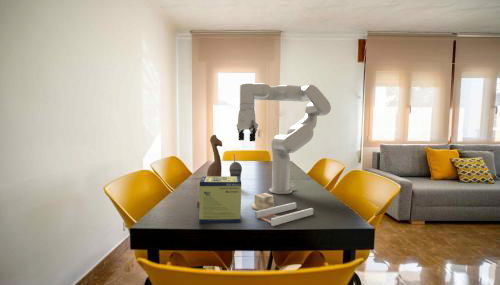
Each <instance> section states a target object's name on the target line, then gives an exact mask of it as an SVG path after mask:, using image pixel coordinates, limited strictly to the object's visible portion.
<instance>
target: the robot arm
mask: <svg viewBox="0 0 500 285" xmlns="http://www.w3.org/2000/svg"><path fill="white" fill-rule="evenodd" d="M255 100H259V101H277V102H278V101H281V102H282V101H283V102H299V103H300V102H301V103H302V102H308V103H307V104H306V106H305V107H304V108H305V109H304V116H303V118H301V119H300V120H299V121H298V122H296V123H294V124H293V125H292V126H290V127H289V128H288V130H287V133H286V134H285V133H284V134H283V133H282V134H281V133H280V134H276V135H274V136H273V137H272V139H271V143H270V144H271V151H272V152H271V153H272V155H271V156H272V162H271V164H272V167H271V168H272V171H271V180H272V181H271V187H270V188H268V191H269V193H271V194H276V195H278V194H279V195H288V194H291V193H293V189H292V188H293V187H295V186H296V184H295V182H292V183H290V176H291V175H290V173H291V172H290V168H291V166H290V165H291V157H290V154H293V153H296V152H297V151H299V150H300V149H301V148H302V147H304V146H306V145H307V144H308V143H309V142H311V141H312V138H313V137H314V129H315V128H316V126H317V122H318V117H319V116H320V117H321V116H326V115H328V114H330V112H331V110H332V106H331V102H330V101H329V99H327V97H326V96H325V95H324V93H323V92H321V89H319V88H318V87H317V86H316V85H314V84H307V85H291V84H280V85H276V86H275V85H274V86H270V85H269V84H267V83H265V82H256V83H253V82H242V83H240V85H239V109H238V110H239V111H238V116H237V124H236V128H237V133H238V141H245V130H249V132H250V133H249V142H255V141H256V134H257V132H258V128H259V124H258V123H257V121H256V119H257V118H256V111H255Z"/></svg>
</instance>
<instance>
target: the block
mask: <svg viewBox="0 0 500 285" xmlns="http://www.w3.org/2000/svg"><path fill="white" fill-rule="evenodd" d="M274 198H275V197H274V195H272V194H269V193H267V192H264V193H258V194H257V193H256V194H254V203H255V205H256V206H258V207H261V208H267V207H272V206H273V205H274Z"/></svg>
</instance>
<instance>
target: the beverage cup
mask: <svg viewBox="0 0 500 285" xmlns="http://www.w3.org/2000/svg"><path fill="white" fill-rule="evenodd" d="M242 171H243V168H242V165H241V163H240V162H237V161H236V156H235V154H233V162H231V164H229V174H230V175H229V177H231V176H240V179H241V178H242V177H241V176H242Z"/></svg>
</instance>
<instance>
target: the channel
mask: <svg viewBox="0 0 500 285" xmlns="http://www.w3.org/2000/svg"><path fill="white" fill-rule="evenodd" d="M296 209H297V202H295V201H294V202H290V203H285V204H282V205H281V204H280V205H277V206H274V207H272V208H268V209H264V210H255V211H254V212H255V213H254V214H255V219H260V218H259V217H263V216H267V215H271V214H274V215H276V214H280V213H283V212H284V213H285V212H287V211H292V210H296ZM313 215H314V208H313V207H310V208H309V207H308V208H306V209H302V210H299V211H298V210H297V211H294V212H291V213H287V214H283V215H278V216H279V217H275V218H271V223H270V224H271V225H270V226H272V227H275V226H278V225H281V224H282V225H283V224H286V223H288V222H291V221H296V220H299V219H302V218H305V217H309V216H313Z"/></svg>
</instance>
